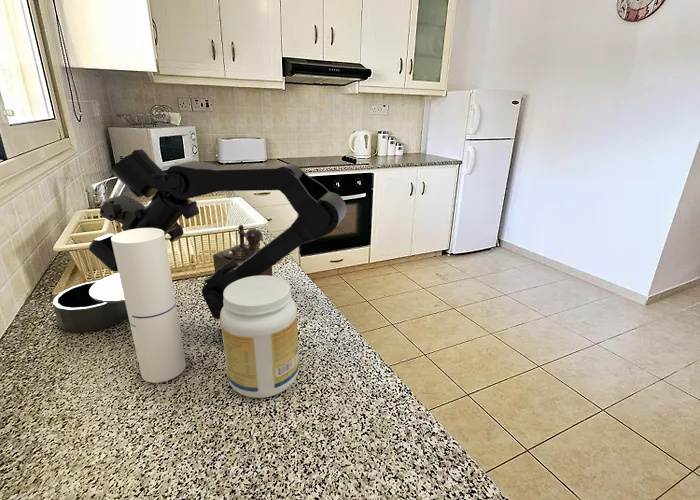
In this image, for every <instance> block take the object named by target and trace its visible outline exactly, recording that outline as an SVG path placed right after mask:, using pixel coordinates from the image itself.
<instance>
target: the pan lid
mask: <svg viewBox="0 0 700 500" xmlns="http://www.w3.org/2000/svg"><path fill="white" fill-rule="evenodd" d="M99 280H100V281H98V282H97V283H95V284H94V285H93V286H92V287H91V288H90V290H89V294H90V297H91V298H92V299H94V300H96V301H99V302H105V303H119V302H125V299H124V295H123V290H122V286H121V281H120V277H119V272H118V273H115V274H112V275H109V276H106V277H103V278H102V279H99Z"/></svg>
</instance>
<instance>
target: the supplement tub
mask: <svg viewBox="0 0 700 500" xmlns="http://www.w3.org/2000/svg"><path fill="white" fill-rule="evenodd" d="M223 296H224V299H223V304H224V306H223V308H222V310H221V313H220V319H219V323H220V329H222V337H223V341H222V343H223V351H224V359H225V367H226V376H227V380H228V383H229V386H230V387H231V388H232V389H233V390H234V392H237V393H238V394H240V395H242V396H245V397H249V398H254V399H257V398H258V399H262V398H264V399H265V398H269V397H273V396H276V395H278V394H281V393H282V392H284V391H285V390H287V389H288V388H289V387H290V386H292V385H293V383H294V382H295V380H296V379H297V377H298V374H299V372H300V355H299V353H300V352H299V333H298V332H299V331H298V330H299V329H298V309H297V304H296V302H295V301H294V299H293V298H292V292H291V285H290V283H289V281H287V280H286V279H284V278H282V277H278V276H276V275H275V276H274V275H272V276H268V275H260V276H251V277H246V278H242V279H239V280H237V281H234V282H233V283H231V284H229V285H228V286H227V287H226V288H225V290H224V292H223Z"/></svg>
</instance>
